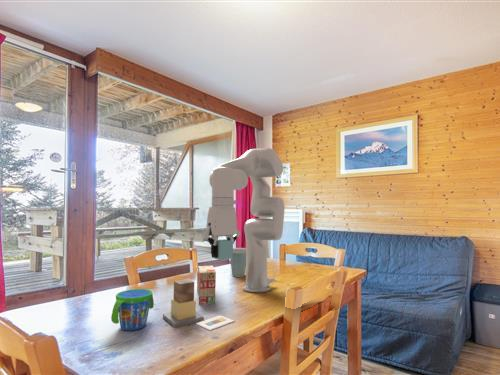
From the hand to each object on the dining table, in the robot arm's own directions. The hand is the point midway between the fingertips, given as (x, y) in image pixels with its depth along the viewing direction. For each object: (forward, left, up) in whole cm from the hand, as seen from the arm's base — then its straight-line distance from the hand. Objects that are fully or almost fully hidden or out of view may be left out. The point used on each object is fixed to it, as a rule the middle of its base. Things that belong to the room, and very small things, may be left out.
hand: (221, 255), depth 103 cm
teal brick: (0, 0, -1) cm, 1 cm away
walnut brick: (+11, -5, -14) cm, 19 cm away
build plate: (+11, -5, -20) cm, 24 cm away
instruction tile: (+4, +4, -20) cm, 21 cm away
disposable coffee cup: (-39, -46, -21) cm, 64 cm away
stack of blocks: (-7, -24, -21) cm, 32 cm away
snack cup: (+26, -8, -21) cm, 34 cm away
